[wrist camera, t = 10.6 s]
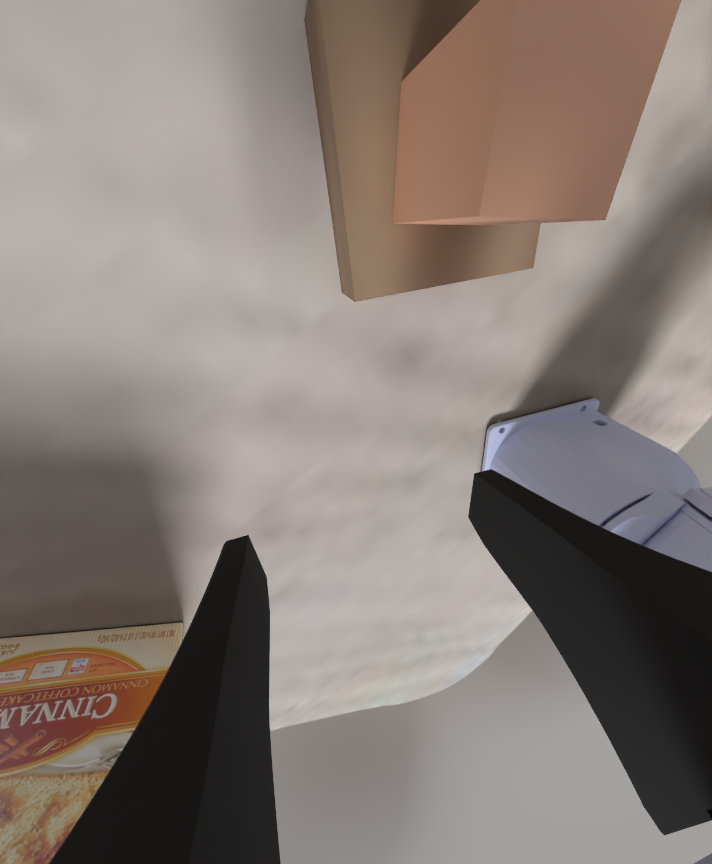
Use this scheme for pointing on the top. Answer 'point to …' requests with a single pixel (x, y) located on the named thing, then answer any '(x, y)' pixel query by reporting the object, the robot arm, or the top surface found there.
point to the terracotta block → (527, 111)
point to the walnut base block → (389, 151)
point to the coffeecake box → (69, 724)
